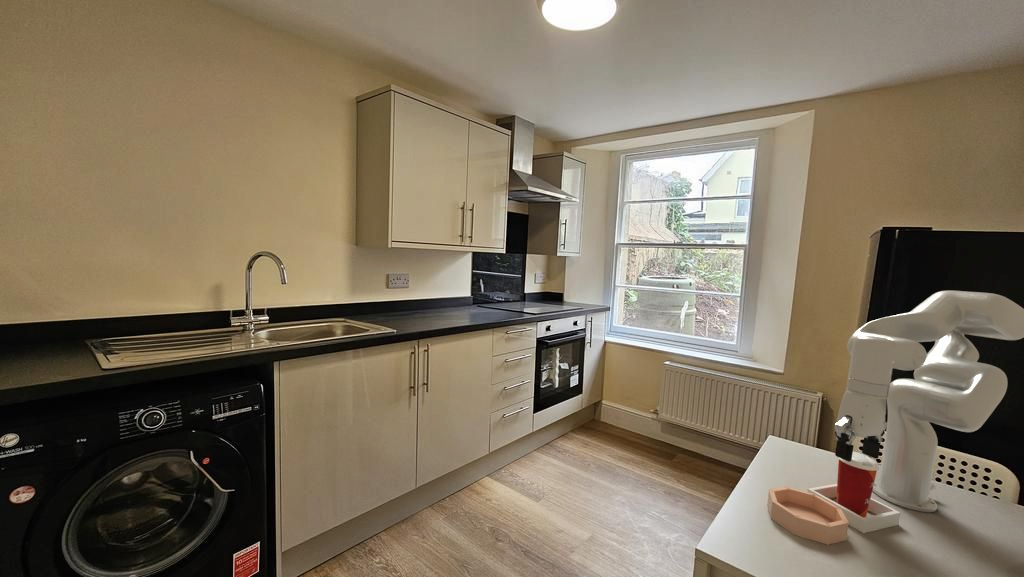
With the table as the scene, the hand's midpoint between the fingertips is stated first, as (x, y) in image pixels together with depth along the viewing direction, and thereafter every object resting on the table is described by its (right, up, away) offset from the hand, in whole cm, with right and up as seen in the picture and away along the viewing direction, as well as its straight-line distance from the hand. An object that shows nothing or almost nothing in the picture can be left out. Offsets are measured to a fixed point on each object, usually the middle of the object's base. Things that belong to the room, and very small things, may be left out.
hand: (856, 457), depth 96 cm
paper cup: (0, -14, +1) cm, 14 cm away
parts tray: (0, -14, +1) cm, 14 cm away
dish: (-15, -13, -4) cm, 21 cm away
